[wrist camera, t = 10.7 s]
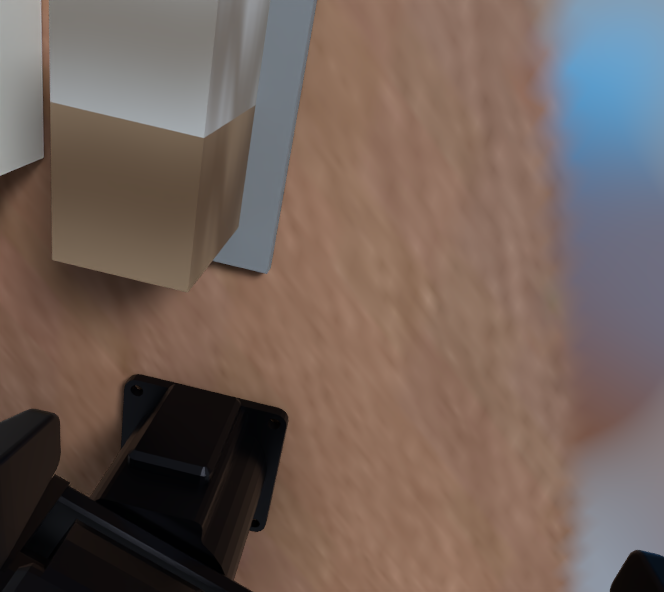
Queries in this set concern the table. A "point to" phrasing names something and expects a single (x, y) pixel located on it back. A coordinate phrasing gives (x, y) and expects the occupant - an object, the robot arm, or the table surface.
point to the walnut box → (151, 131)
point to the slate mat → (271, 134)
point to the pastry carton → (20, 84)
